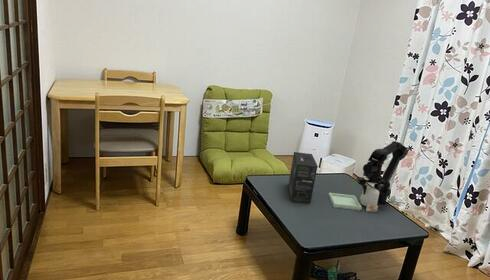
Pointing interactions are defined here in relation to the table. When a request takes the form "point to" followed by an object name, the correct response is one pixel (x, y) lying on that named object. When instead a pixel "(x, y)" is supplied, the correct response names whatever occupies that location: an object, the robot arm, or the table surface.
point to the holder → (371, 207)
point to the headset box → (302, 177)
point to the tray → (344, 201)
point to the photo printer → (370, 196)
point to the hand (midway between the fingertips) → (370, 195)
